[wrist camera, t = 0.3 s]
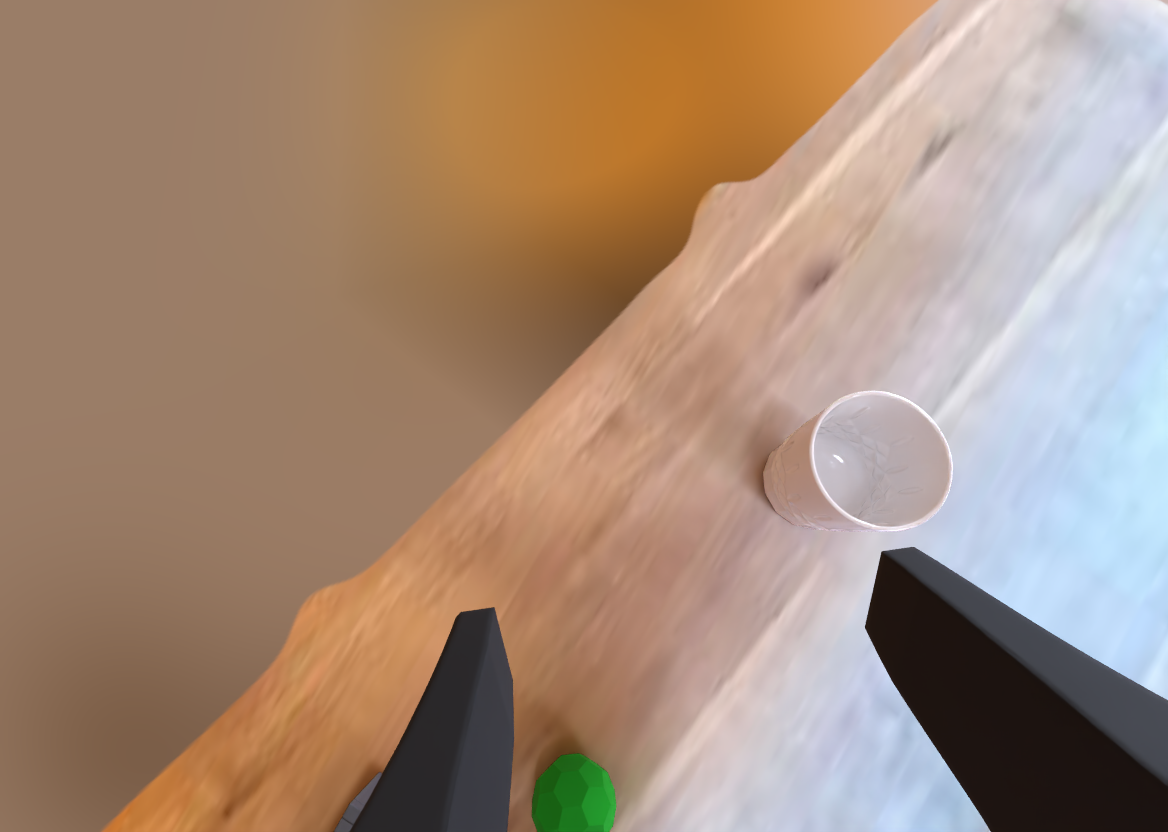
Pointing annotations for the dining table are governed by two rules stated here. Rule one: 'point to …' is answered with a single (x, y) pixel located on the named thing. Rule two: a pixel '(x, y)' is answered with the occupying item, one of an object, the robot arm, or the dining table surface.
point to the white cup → (861, 467)
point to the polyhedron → (574, 797)
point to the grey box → (356, 806)
